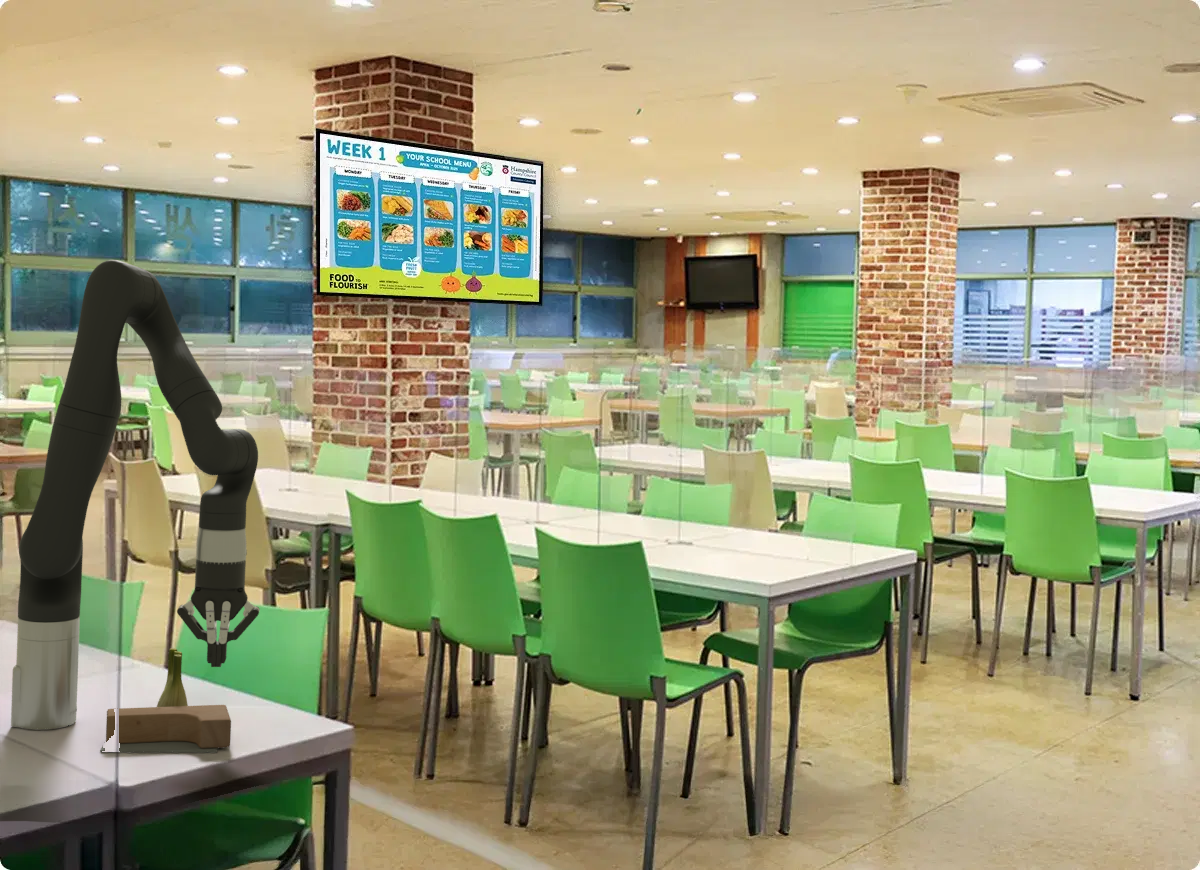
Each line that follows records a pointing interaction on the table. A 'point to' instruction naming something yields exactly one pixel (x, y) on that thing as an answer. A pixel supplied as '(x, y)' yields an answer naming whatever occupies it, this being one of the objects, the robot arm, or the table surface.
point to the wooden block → (173, 725)
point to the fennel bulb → (173, 683)
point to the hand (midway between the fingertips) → (216, 665)
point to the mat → (163, 747)
